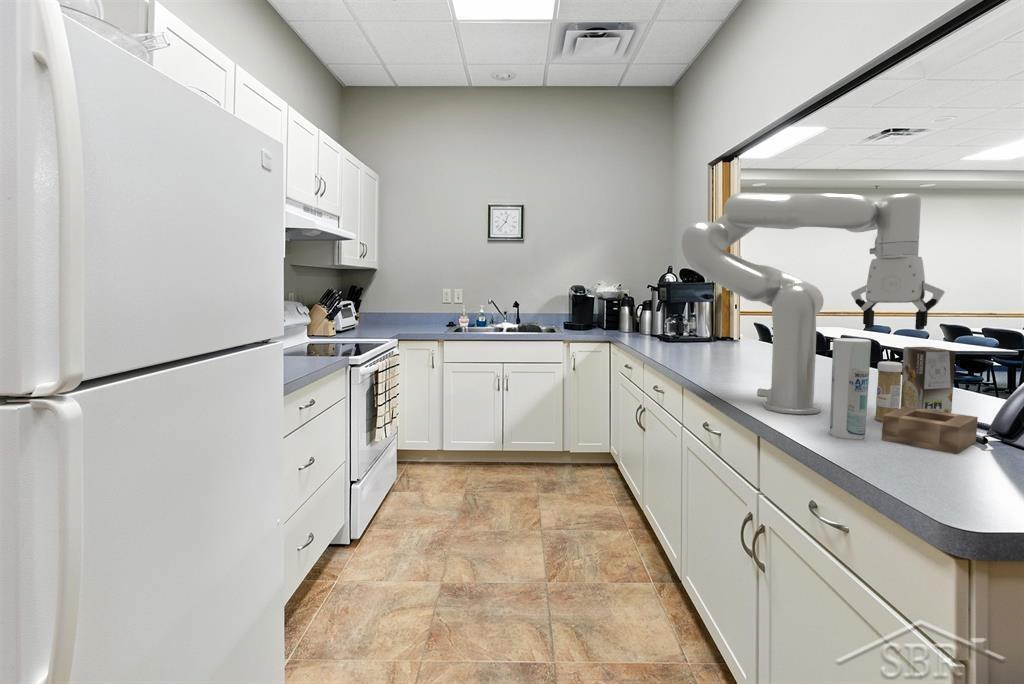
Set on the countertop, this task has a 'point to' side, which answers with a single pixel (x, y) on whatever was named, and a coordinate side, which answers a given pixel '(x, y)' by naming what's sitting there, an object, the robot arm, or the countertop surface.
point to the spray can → (849, 387)
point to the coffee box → (928, 378)
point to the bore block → (930, 429)
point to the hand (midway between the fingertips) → (893, 328)
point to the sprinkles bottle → (888, 388)
